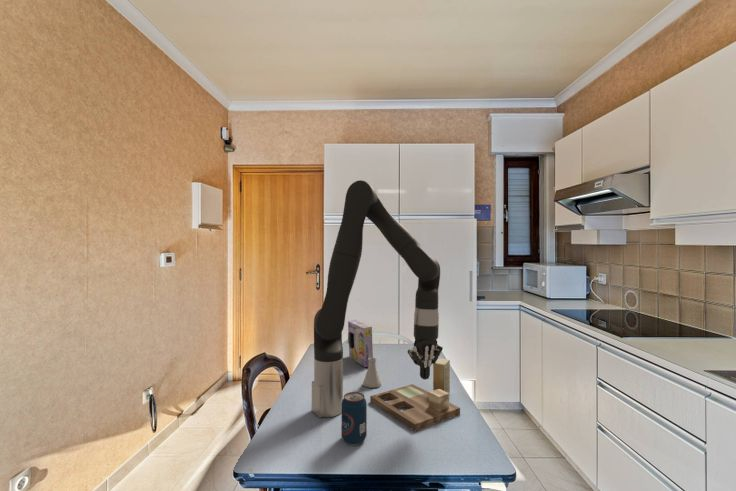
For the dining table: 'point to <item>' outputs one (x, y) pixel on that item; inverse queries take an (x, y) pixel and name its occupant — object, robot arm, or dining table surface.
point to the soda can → (354, 418)
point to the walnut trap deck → (412, 407)
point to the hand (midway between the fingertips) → (424, 378)
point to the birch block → (439, 399)
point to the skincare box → (441, 375)
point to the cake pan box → (360, 342)
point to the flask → (372, 375)
